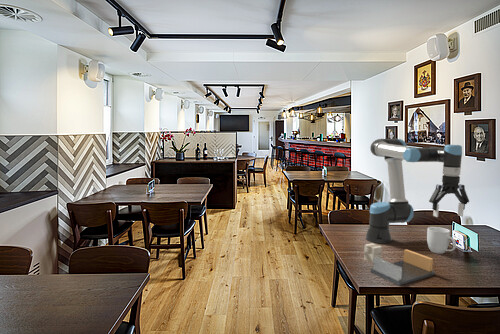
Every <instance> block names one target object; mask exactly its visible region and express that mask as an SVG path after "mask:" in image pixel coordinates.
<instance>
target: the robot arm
mask: <svg viewBox="0 0 500 334" xmlns="http://www.w3.org/2000/svg"><path fill="white" fill-rule="evenodd" d="M369 149H370V153H372V155H373V156H376V157H380V158H384V161H385V162H386V163H387V170H388V171H387V172H388V185H389V195H390V199H389V200H388V202H386V201H378V202H374V203H372V204H370V206H369V226H368V229H367V232H366V234H365V239H366V240H367V241H369V242H372V243H374V244H390V243H391V242H393V241H392V239H393V238H392V236H391V231H390V224H400V223H401V224H404V223H408V222H410V221H412V219H413V217H414V213H415V211H414V207H413V206H412V205H411V204H410V203H409V200H408V199H406V190H405V180H404V172H403V171H404V170H403V160H404V161H405V162H407V163H443V165H442V166H443V167H442V178H441V182H442V184H436V185H435V189H434V191H433V192H432V195H431V197H430V199H429V200H428V202H429V203H431V204H432V208H431V209H432V210H433V213H432V216H433V217H436V218H439V210H440V209H439V208H440V204H439V203H440V201H441V200H442V199H443V198H444V197H445V196H446V195H448V194H453V195H455V197H456V199H457V200H458V201H459V203H458V208H457V216H459V217H464V211H465V208H466V207H465V206H466V205H467V204H468V203H470V199H469V196H468V194H467V191H466V189H465V187H466V186H465V185H464V184H460V181H461V177H460V175H461V169H462V168H461V166H462V157H463V146H462V145H460V144H445V145H444V147H437V146H432V147H413V146H408V145H407V142H405V141H404V139H401V138H378V139H376V140H374V141H372V143H371V144H370V148H369Z"/></svg>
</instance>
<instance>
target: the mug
mask: <svg viewBox="0 0 500 334" xmlns="http://www.w3.org/2000/svg"><path fill="white" fill-rule="evenodd" d="M450 234H451V230H449V229H448V228H444V227H439V226H429V227H427V232H426V242H427V247H428V249H429V250H430V252H431V253H434V254H439V255H442V254H445V253H446V252H453V251H454V250H455V249H456V247H457V243H456V239H454V237H452V236H451V235H450ZM450 240H451V241H452V243H453V247H452V248H451V249H448V247H449V243H450Z"/></svg>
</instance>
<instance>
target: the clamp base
mask: <svg viewBox="0 0 500 334" xmlns="http://www.w3.org/2000/svg"><path fill="white" fill-rule="evenodd" d="M372 264H373V265H372V268H370V273H371V274H374V275H376V276H379V277H380V278H382V279H384V280H387V282H388V281H389V283H390V282H391V283H393V284H395V285H397V286H399V287H401V286H403V285H407V284H409V283H413V282H416V281H419V280H423V279H425V278H426V279H427V278H428V277H431V276H434V275H435V274H436V271H434V270H432V271H430V272H429V271H427V270H424V269H422V268H419V267H417V266H414V265H412V264H409V263H407V262H404V259H403V260H400V261H396V262H392V263H391V262H389V261H387V260H385V259H383V258H381V259H380V258H378V257H374V261H373V263H372Z"/></svg>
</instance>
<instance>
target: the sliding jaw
mask: <svg viewBox="0 0 500 334" xmlns="http://www.w3.org/2000/svg"><path fill="white" fill-rule="evenodd" d="M403 260H404V262H407V263H409V264H412V265H414V266H417V267H419V268H422V269H424V270H427V271H429V272H430V271H433V264H434V262H433V261H434V258H432V257H429V256H427V255H424V254H421V253H418V252H415V251H413V250H409V249H404V250H403Z"/></svg>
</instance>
